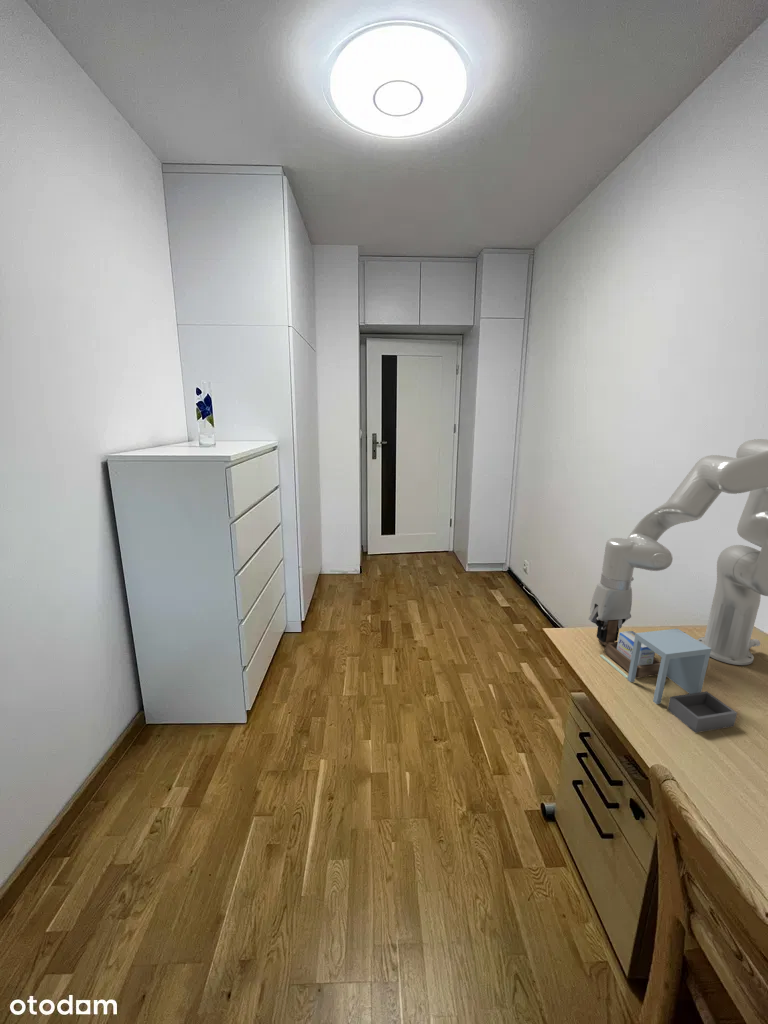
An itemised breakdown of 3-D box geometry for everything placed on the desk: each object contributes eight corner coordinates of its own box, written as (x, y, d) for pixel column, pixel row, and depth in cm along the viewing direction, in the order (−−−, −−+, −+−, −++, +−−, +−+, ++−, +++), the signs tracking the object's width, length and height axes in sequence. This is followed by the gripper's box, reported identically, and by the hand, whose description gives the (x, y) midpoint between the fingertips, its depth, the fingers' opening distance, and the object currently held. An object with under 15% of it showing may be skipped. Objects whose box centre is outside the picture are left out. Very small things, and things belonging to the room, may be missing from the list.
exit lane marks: (636, 651, 116) (636, 650, 116) (666, 673, 107) (666, 672, 106) (599, 655, 114) (599, 654, 114) (626, 678, 104) (626, 677, 104)
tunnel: (668, 674, 106) (677, 628, 103) (699, 697, 98) (711, 648, 94) (627, 679, 104) (635, 633, 101) (656, 704, 95) (666, 654, 92)
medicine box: (614, 659, 112) (618, 631, 110) (627, 657, 113) (632, 629, 111) (636, 677, 105) (641, 648, 103) (651, 675, 106) (656, 646, 104)
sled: (614, 638, 122) (618, 614, 120) (662, 674, 105) (667, 647, 103) (590, 641, 120) (594, 616, 118) (635, 677, 104) (640, 650, 102)
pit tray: (703, 704, 95) (706, 691, 95) (733, 726, 89) (737, 712, 88) (667, 709, 94) (670, 696, 93) (695, 732, 87) (698, 719, 86)
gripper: (630, 574, 120) (621, 629, 124) (581, 578, 117) (573, 635, 121) (651, 584, 113) (640, 643, 117) (599, 589, 110) (590, 649, 114)
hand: (606, 638), depth 119 cm, fingers closed on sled, 3 cm apart
